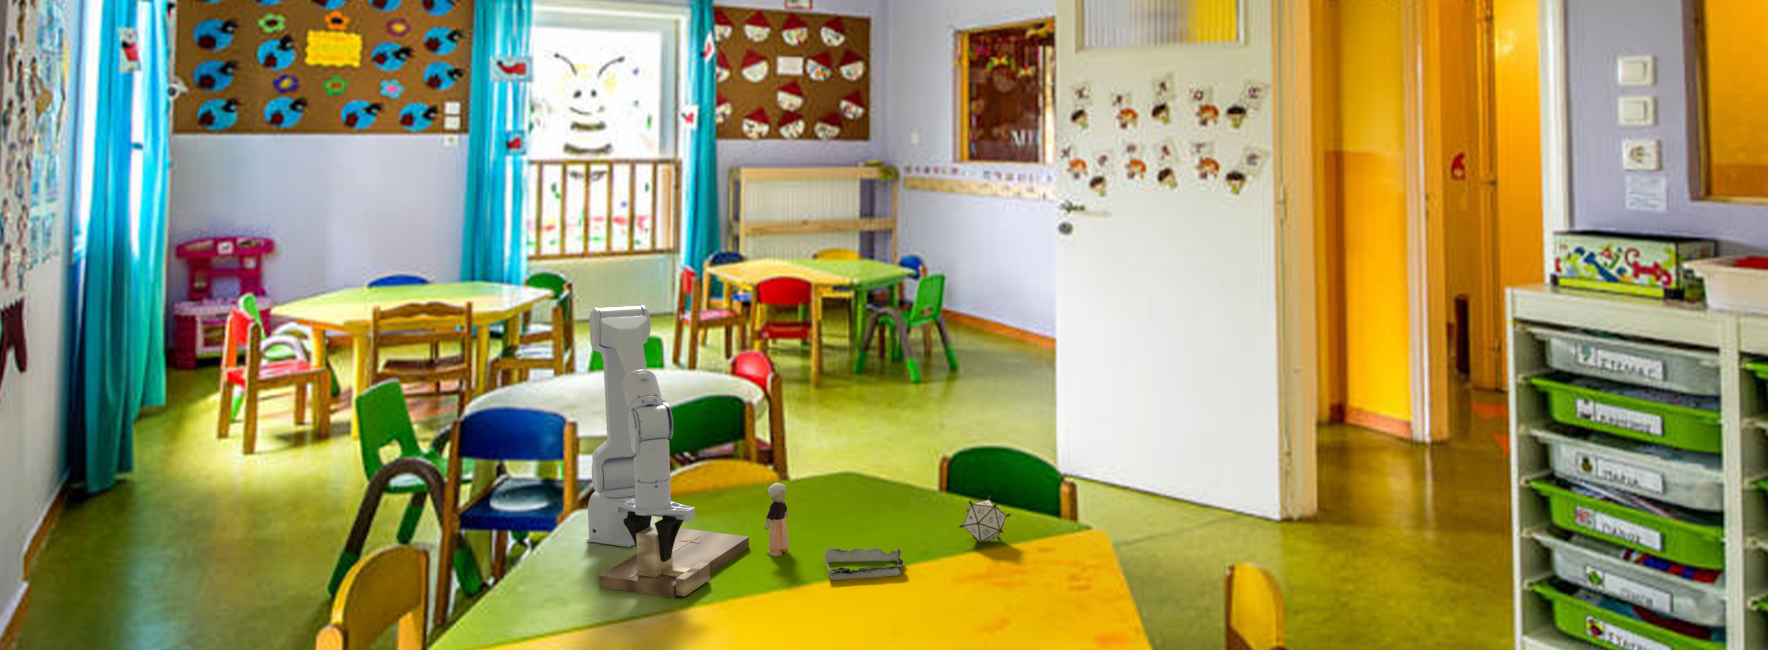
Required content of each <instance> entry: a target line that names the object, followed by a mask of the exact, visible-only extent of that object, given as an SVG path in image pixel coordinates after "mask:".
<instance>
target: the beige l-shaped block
mask: <svg viewBox="0 0 1768 650" xmlns="http://www.w3.org/2000/svg"><path fill="white" fill-rule="evenodd" d="M636 541H637V549H636V554H637V565H636V570H637V571H638V575H642V576H649V577H656V578H657V577H658V576H660V575H668V576H675V577H677V578H676V595H677V596H681V597H686V596H687V595H690V594H691V593H692V592H693V591H695V590H697V589H698V588H699V587H701V586H702V585H704V584H705V583H707V582H709V581H710V580H711V577H710V576H711V575H710V574H711V573H710V567H709V563H704V562H700V563H699V564H697V565H696V566H694V567H693V568H688V567H681V566H674V565H673V555H671V559H669V560H667V561H666V562H661V558H660V544H659V537H658V533H657V530H656V527H655V524H650V526H649V527H648V528H646V529H644V530H642V531H640V532H638V533H637V534H636Z"/></svg>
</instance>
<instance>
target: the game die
mask: <svg viewBox="0 0 1768 650" xmlns="http://www.w3.org/2000/svg"><path fill="white" fill-rule="evenodd" d="M991 498H992V497H991V495H988V496H987V499H986V500H982V501H977V502H974V503H973V501H971V500H968V504H970V506H969V508H968V509H966V512H967V514H966V516H965V519H964V521H963V524H960V525H958V528H961V529H962V528H964V529H965V530H966V531H967V532H968V533H970V535H971V536H972V537H973V538H975V539H976V540H977V542H979V543H978V546H979V547H981V546H982V543H983V542H987V541H991V540H995V539H997V541H999V542H1001V539H1002V538H1001V537H1000V535H1001V534H1002V533H1004V531H1003V526H1004V524H1005V523H1006V519H1007V517H1009V518H1010V517H1011V516H1012V514H1010V513H1007V514H1006V513H1005V512H1004V511H1002V510H1001V508H999V507H998V505H997V503H994V502H993V501H991Z"/></svg>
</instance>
